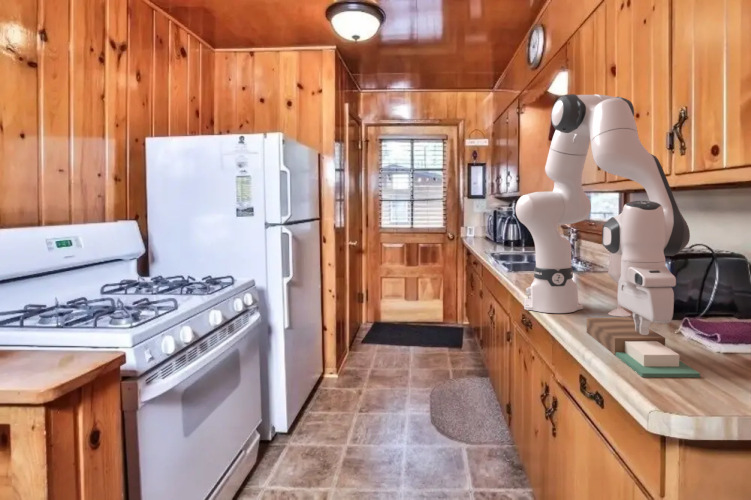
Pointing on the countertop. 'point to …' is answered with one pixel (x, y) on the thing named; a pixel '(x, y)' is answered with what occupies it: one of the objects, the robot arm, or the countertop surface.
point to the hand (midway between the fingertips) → (641, 333)
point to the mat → (658, 368)
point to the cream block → (651, 353)
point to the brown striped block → (618, 333)
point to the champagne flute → (616, 280)
